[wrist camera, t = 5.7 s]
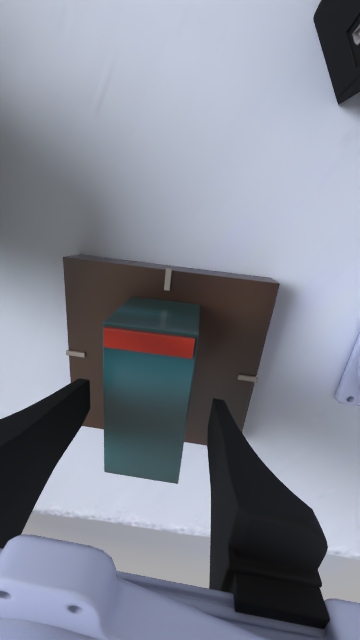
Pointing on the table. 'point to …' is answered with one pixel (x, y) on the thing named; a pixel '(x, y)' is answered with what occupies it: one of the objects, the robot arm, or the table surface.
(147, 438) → the teal block red stripe
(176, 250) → the table surface
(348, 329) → the table surface
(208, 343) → the clock
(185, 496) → the table surface
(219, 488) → the robot arm
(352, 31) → the digital camera
